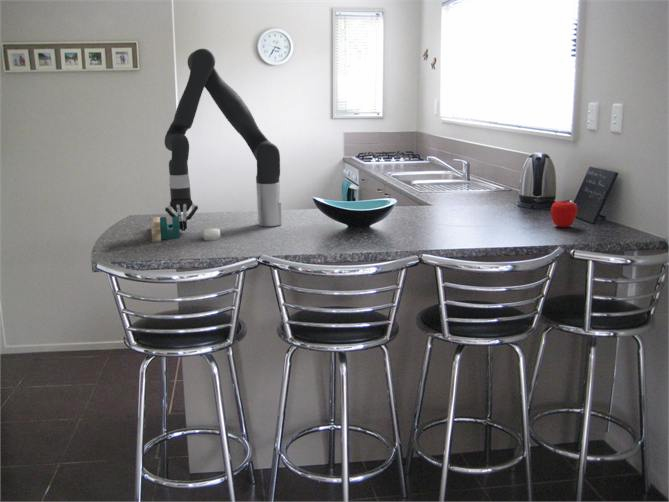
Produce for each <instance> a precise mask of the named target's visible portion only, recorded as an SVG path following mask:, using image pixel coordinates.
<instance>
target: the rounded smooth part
mask: <svg viewBox="0 0 669 502" xmlns="http://www.w3.org/2000/svg"><path fill="white" fill-rule="evenodd" d="M202 239H203V240H204V241H217V240H220V239H221V228H220V227H206V228H203V229H202Z"/></svg>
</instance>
